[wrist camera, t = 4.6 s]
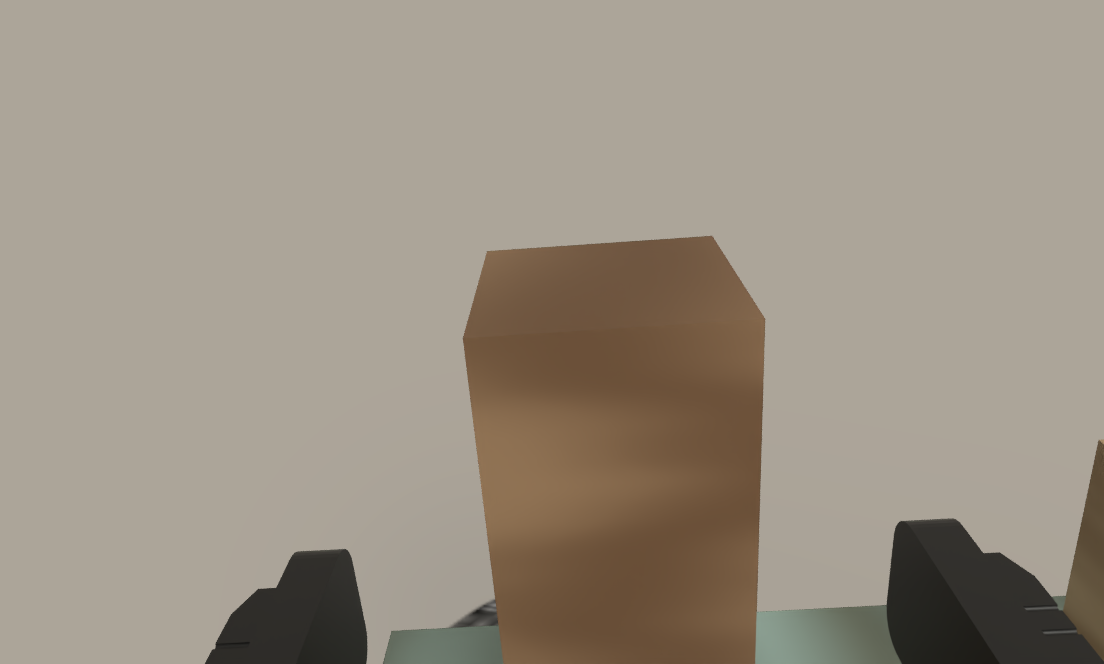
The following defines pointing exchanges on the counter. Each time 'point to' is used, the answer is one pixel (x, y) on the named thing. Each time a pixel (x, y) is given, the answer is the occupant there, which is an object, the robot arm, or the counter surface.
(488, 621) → the counter surface
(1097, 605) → the wooden socket fixture
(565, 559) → the walnut key
